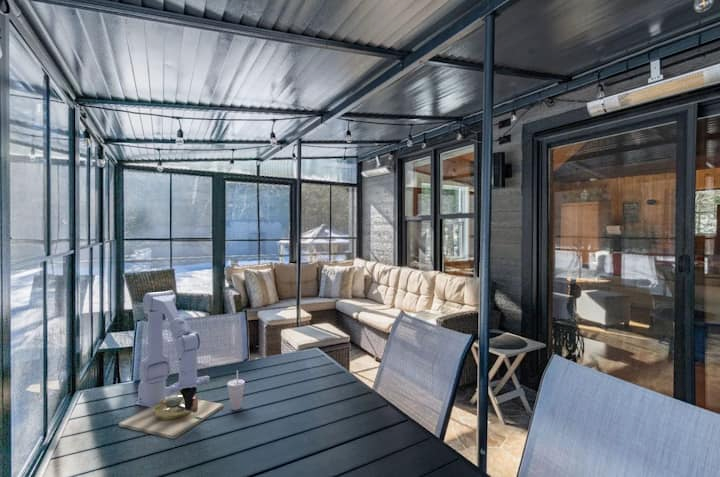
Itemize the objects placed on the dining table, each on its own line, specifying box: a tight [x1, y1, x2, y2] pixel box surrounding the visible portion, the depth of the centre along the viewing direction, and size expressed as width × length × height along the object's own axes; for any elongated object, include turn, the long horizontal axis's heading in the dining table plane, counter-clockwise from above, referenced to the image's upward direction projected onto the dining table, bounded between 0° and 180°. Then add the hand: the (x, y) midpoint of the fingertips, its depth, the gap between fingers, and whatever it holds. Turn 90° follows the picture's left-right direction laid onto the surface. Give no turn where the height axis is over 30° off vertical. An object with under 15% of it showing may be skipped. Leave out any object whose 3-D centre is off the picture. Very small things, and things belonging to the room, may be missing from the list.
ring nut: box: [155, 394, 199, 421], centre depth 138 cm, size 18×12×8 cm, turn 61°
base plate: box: [118, 394, 224, 440], centre depth 139 cm, size 24×24×6 cm
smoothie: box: [226, 370, 246, 411], centre depth 146 cm, size 6×6×14 cm
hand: (188, 408), depth 132 cm, fingers closed
